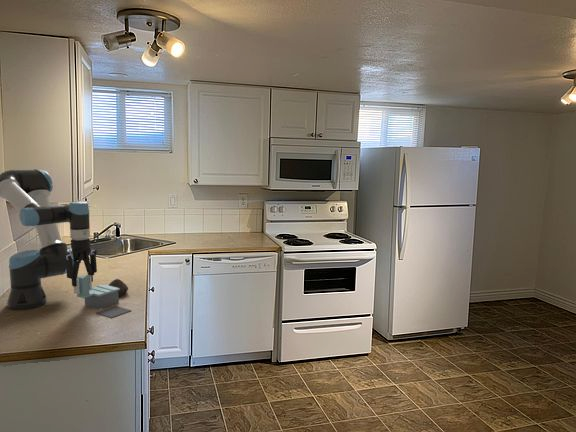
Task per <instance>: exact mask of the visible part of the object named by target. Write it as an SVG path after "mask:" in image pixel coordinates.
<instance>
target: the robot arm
mask: <svg viewBox="0 0 576 432" xmlns="http://www.w3.org/2000/svg"><path fill="white" fill-rule="evenodd" d="M53 187H54V185H53V180H52V177H51V175H50V173H48V172H47V171H46V170H44V169H10V170H5V171H3V172H1V173H0V197H1V198H2V199H5V200H6V201H7V202H9V204H11V206H13V207H14V208H15V210H16V211H18V213H19V215H18V216H19V221H20V224H21V225H23V226H24V227H35V228H36V231H37V235H38V239H39V242H40V246H41V247H40V249H39V250H37V249H30V250H23V251H19V252H16V253H14V254H13V255H11V256H10V257H9V259H8V269H9V278H10V281H9V282H10V292H9V294H8V297H7V301H6V302H7V308H8V309H10V310H28V309H34V308H38V307H41V306H43V305H45V304H46V303H47V301H48V300H47V295H46V293H45V291H44V289H43V287H42V279H45V278H52V277H56V276H57V277H58V276H63V275H65V274H66V278H67V279H71V286H72V287H73V293H74V294H76V295H77V294H80V292H79V279H78V278H77V276H79V275H78V274H79V271H80V265H81V263H82V261H83V264H84V267H85V270H86V272H87V274H85V276H88V277H89V290H92V288H93V283H92V282H94V276H95V275H96V273H97V271H98V269H97V252H98V251H97V250H96V249H91V238H90V237H91V229H90V227H91V226H90V207H89V203H88V202H87V201H70V203H61V204H59V205H51V203H50V200H49V197H50V196H51V192H52V191H53ZM63 223H64V224H65V223H69V231H70V232H69V233H70V234H69V235H70V247H68V245H67V243H66V242H65V241H62V238H61V234H60V231H59V229H58V225H57V224H63Z"/></svg>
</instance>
